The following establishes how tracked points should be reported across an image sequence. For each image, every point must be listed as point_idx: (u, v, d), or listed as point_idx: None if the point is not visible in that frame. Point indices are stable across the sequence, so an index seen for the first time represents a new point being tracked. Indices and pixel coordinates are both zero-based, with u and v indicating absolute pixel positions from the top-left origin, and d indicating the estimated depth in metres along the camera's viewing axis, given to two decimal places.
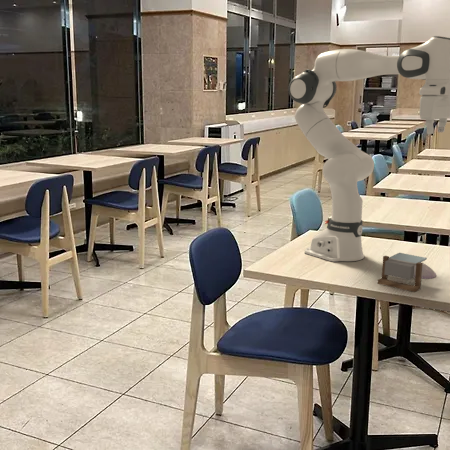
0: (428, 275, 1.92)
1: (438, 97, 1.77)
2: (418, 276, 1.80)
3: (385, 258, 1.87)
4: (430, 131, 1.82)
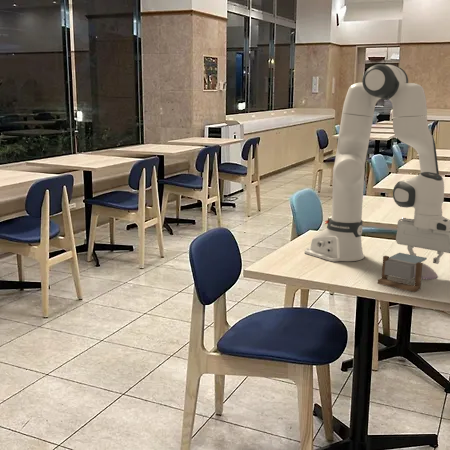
0: (429, 276, 1.92)
1: None
2: (418, 276, 1.80)
3: (385, 258, 1.87)
4: (438, 261, 1.93)
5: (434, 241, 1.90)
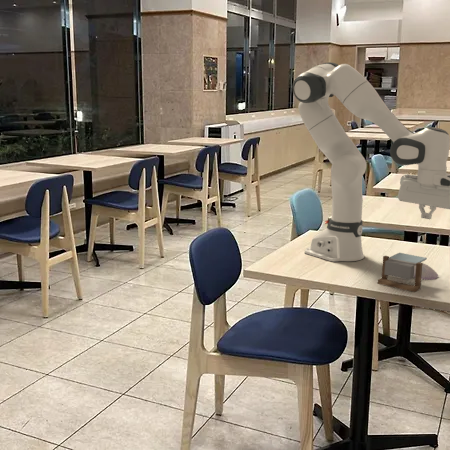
0: (430, 276, 1.91)
1: None
2: (418, 276, 1.80)
3: (385, 258, 1.87)
4: (431, 216, 1.91)
5: (437, 198, 1.87)
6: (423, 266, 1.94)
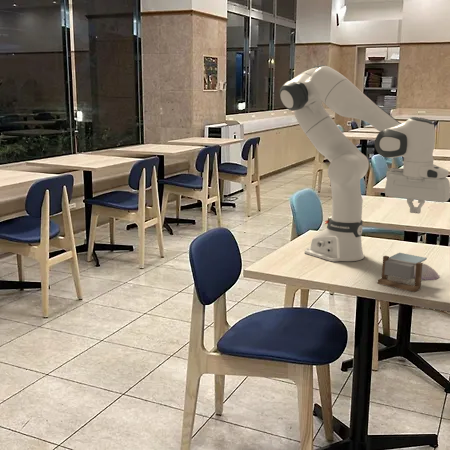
0: (431, 276, 1.91)
1: None
2: (418, 276, 1.80)
3: (385, 258, 1.87)
4: (420, 211, 1.83)
5: (425, 191, 1.79)
6: (424, 266, 1.94)
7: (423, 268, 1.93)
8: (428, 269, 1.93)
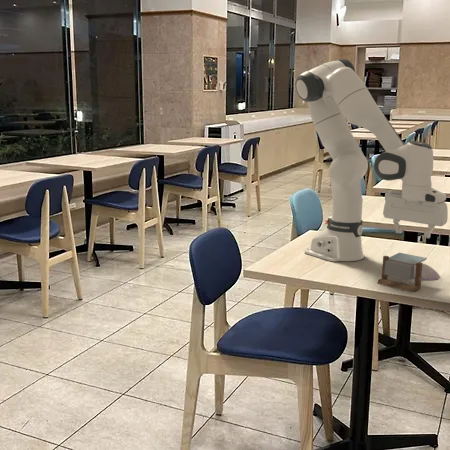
0: (432, 277, 1.91)
1: None
2: (418, 276, 1.80)
3: (385, 258, 1.87)
4: None
5: (423, 214, 1.80)
6: (424, 267, 1.93)
7: (424, 268, 1.93)
8: (429, 269, 1.92)
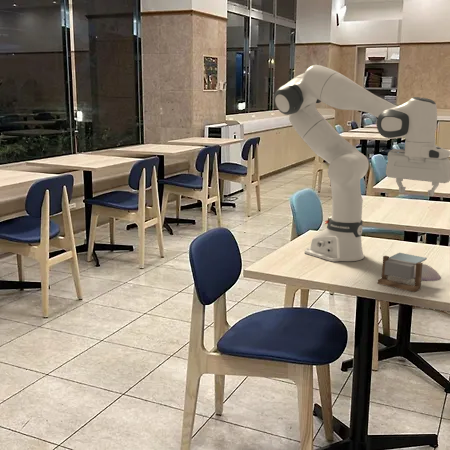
0: (433, 277, 1.90)
1: None
2: (418, 276, 1.80)
3: (385, 258, 1.87)
4: (433, 193, 1.79)
5: (426, 171, 1.77)
6: (425, 267, 1.93)
7: (424, 269, 1.92)
8: (429, 270, 1.92)
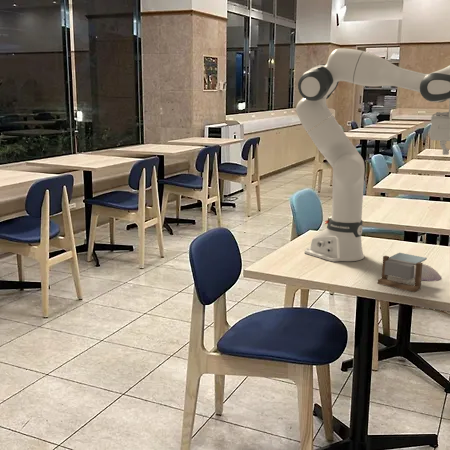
0: (433, 277, 1.90)
1: None
2: (418, 276, 1.80)
3: (385, 258, 1.87)
4: None
5: None
6: (426, 267, 1.93)
7: (425, 269, 1.92)
8: (430, 270, 1.92)
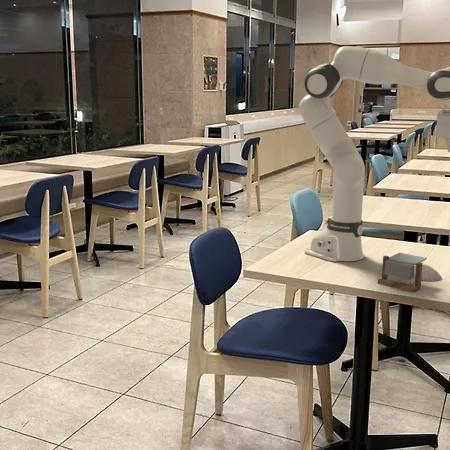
0: (434, 278, 1.90)
1: None
2: (418, 276, 1.80)
3: (385, 258, 1.87)
4: None
5: None
6: (426, 267, 1.92)
7: (425, 269, 1.92)
8: (431, 270, 1.91)
